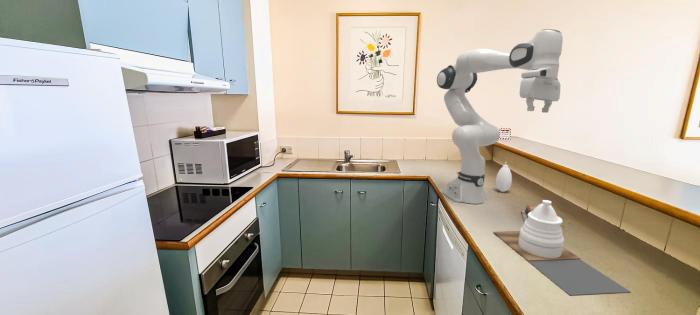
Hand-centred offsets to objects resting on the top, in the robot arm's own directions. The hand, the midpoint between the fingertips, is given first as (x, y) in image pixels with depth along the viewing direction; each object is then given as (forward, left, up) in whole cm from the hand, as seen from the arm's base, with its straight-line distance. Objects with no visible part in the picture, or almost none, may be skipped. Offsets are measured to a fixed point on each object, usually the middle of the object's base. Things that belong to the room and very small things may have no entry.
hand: (537, 111), depth 109 cm
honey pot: (+16, -12, -47) cm, 51 cm away
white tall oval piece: (-35, +30, -47) cm, 66 cm away
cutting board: (+13, -11, -47) cm, 50 cm away
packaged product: (-1, +10, -48) cm, 49 cm away
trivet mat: (+30, -16, -47) cm, 58 cm away
